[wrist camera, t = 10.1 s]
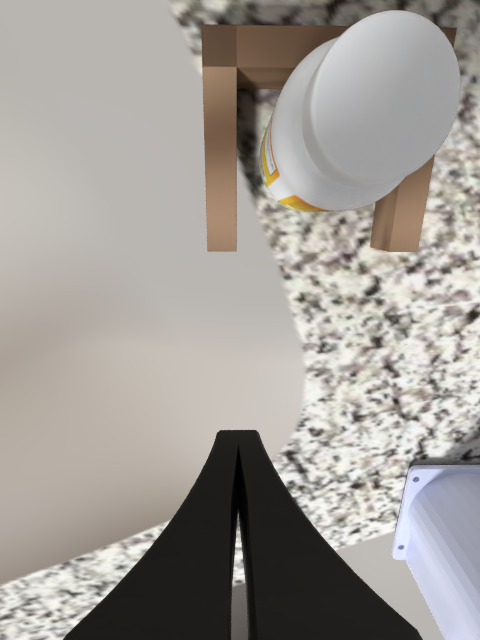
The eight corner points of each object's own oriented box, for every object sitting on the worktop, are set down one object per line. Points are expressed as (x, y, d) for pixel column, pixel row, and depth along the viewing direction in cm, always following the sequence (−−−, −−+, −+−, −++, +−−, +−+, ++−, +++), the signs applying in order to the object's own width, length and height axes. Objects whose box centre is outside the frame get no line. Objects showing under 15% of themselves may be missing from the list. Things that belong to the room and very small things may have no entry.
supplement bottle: (375, 166, 18) (527, 114, 9) (298, 232, 19) (360, 249, 10) (317, 78, 16) (424, -96, 7) (238, 155, 17) (242, 88, 8)
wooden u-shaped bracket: (394, 247, 19) (417, 251, 17) (210, 246, 19) (207, 251, 17) (424, 55, 16) (456, 28, 14) (206, 52, 16) (201, 24, 14)
